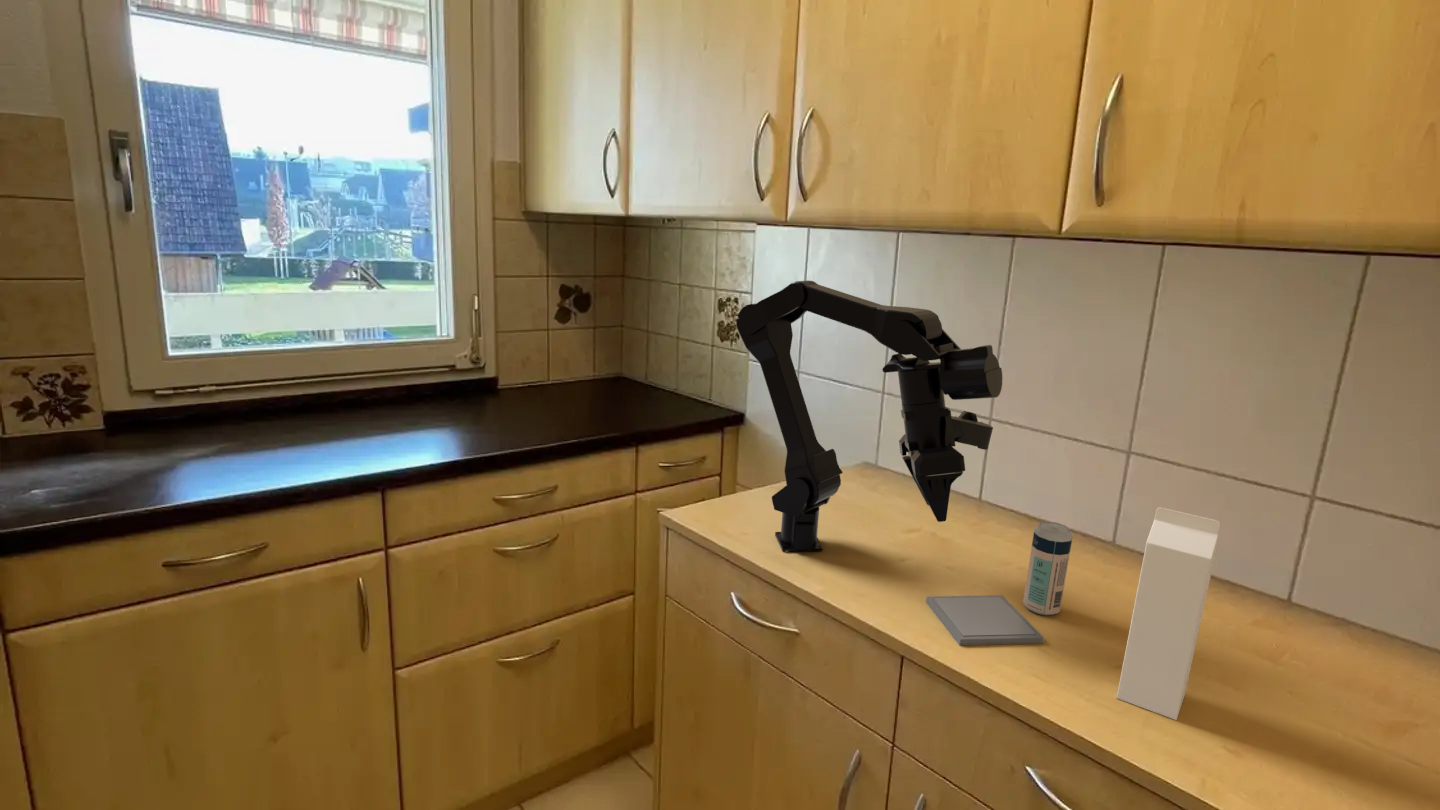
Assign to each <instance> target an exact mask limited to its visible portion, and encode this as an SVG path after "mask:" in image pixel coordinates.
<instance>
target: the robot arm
mask: <svg viewBox="0 0 1440 810" xmlns="http://www.w3.org/2000/svg"><path fill="white" fill-rule="evenodd" d="M807 312H809V313H812V314H815V315H818V316H821V317H824V318H826V319H829V320H832V321H835V322H838V323H840V324H844V325H846V326H849V327H852V328H854V329H858V330H861V331H864V332H866V333H867V334H869V335H871V336H872V338H874V339H875V340H876V341H877V342H878V343H879V344H882V345H883V346H884V347H887V348H888V349H890V350H891V351H893V352H895V354H892V355H891V358H890V359H889V361H887V363H886V364H885V365H884V366H883V368H882V372H883V373H884V374H885V373H895V372H897V376H898V385H899V392H900V400H901V410H900V414H901V418H903V425H904V426H903V427H904V434H903V436H901V438H900V439H899V440H898V443H899V444H898V445H899V452H900V454H901V456H902V460H903V462H904V464H905V465H906V467H907V469H908V471H909V473H910V475H911V477H912V479H913V481H914V483H915V484H916V486H917V488H918V490H919V492H920V494H921V495H922V498H923V500H924V501H925V504H926V505H927V506H929V508H930V510H931V512H932V513H933V515H934V518H935V520H936V521H937V522H938V523H941V522H946V521H947V519H948V518H947V517H948V510H949V509H948V508H949V502H950V501H949V500H950V493H951V489H952V488H951V487H952V484H953V483H954V482H955V481H956V480H957V479H958V478H960V477H961V476H962V475H963V474H964V471H966V464H965V456H964V455H963V454H962V453H961V452H960V451H958V450H957V449H956V448H955V447H956V443H958V444H964V445H968V446H974V447H977V449H980V450H985V451H987V450H989V445H990V441H991V438H992V434H993V429H994V427H993V426H992V425H990V424H988V423H985V422H983V421H979V420H978V416H977V414H976V413H974V412H971V411H966V410H963V411H962V412H960V413H961V414H959V416H956V415H955V416H952V411H951V410H950V409H949V407H947V406H946V402H945V401H946V400H945V396H949V398H950V399H951V400H953V401H958V400H960V401H962V400H974V399H975V400H976V399H977V400H978V399H979V400H980V399H991V398H992V399H995V398H998V397H999V396H1000V394H1001V391H1002V389H1003V370H1002V367H1000V363H999V361H998V358H997V356H996V355H995V354H994V351H993V345H992V344H987V345H986V344H985V345H981V346H976V347H972V348H971V347H970V348H963V349H962V348H961V347H960V346H959V345H958V344H957V343H956V342H955V341H954V340H953V339H952V337H950V335H949V334H948V333H947V332H946V331H945V330H944V329H943V325H942V322H941V320H940V319H939V318H940V317H939V315H938V314H937V313H935V312H934V311H932V310H930V309H926V308H925V309H924V308H917V307H909V306H895V305H893V306H892V305H885V304H880V303H876V302H874V301H871V300H869V299H868V300H867V299H865V298H861V297H859V296H855V295H852V294H849V293H845V292H843V291H840V290H837V289H834V288H830V287H827V286H824V285H821V284H818V283H817V282H816V281H813V280H796V281H793V282H791V283H790V284H788V285H787V286H785V287H784V288H782V289H781V290H779V291H777V292H775V293H773V294H771V295H769V296H766V297H765V298H764V299H761V300H760V301H758V302H756V303H750V304H746V305H744V306H742V308H741V309H740V311H739V312H738V316H737V317H736V320H735V321H736V323H735V325H736V328H737V332H738V334H739V336H740V338H741V341H742V343H743V345H744V346H745V348H746V349H747V351H748V352H749V353H750V354H751V355H752V357H754V358H755V359H756V360H757V362H758V363H759V366H760V368H761V371H762V374H763V378H764V380H765V383H766V386H767V391H768V393H769V397H770V400H771V403H772V406H773V410H774V412H775V416H776V420H777V422H778V426H779V428H780V432H781V435H782V438H783V442H784V445H785V448H786V455H785V456H786V457H785V465H784V477H785V484H786V485H784V487H782V488H781V489H780V490H779V491H777V492H776V493H774V494H773V495H772V496H771V502H772V506H773V510H775V511H777V512H780V513H782V514H781V515H782V517H781V529H780V531H775V533H774V536H775V538H776V541H777V542H778V544H779V547H780V549H781V551H783V552H816V551H817V552H821V551H823V550H824V549H823V548H824V547H823V545H822V543H821V541H820V540H819V538H818V527H819V516H820V515H819V514H820V507H822V506H823V505H827V504H828V503H829V501H830V499H831V497H832V496H834V495H835V494H837V492H838V490H839V489H840V486H842V485H841V483H842V479H841V475H842V474H843V470H842V469H841V468H840V465H839V463H838V459H837V453H836V451H835V449H834V448H831V449H828V450H826V449H825V448H824V447H823V446H822V445H821V444H820V442H819V441H818V439H817V435H816V434H815V429H814V426H813V423H812V420H811V417H810V414H809V411H808V408H807V405H806V400H805V397H804V394H803V390H802V388H801V384H800V382H799V379H798V374H797V372H796V369H795V367H794V366H795V365H794V363H793V362H794V361H793V359H792V355H791V349H792V341H793V336H794V335H793V327H792V324H793V323H795V322H796V321H798V320H799V319H801V318H802V317H803V316H804V315H805V314H806V313H807ZM909 355H912V356H914V357H905V356H909ZM937 360H939V361H940V362H930V361H937Z"/></svg>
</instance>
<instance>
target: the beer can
mask: <svg viewBox="0 0 1440 810" xmlns="http://www.w3.org/2000/svg"><path fill="white" fill-rule="evenodd" d="M1032 536H1033V537H1032V542H1031V550H1030V555H1029V563H1028V568H1027V574H1026V575H1027V576H1026V580H1025V588H1024V594H1023V601H1022V603H1023V605H1024V606H1025V607H1026V608H1027V609H1028V610H1029V611H1031V612H1032V613H1035V614H1037V615H1040V616H1053V615H1056V614H1059V613H1060V612H1061V610H1062V609H1061V608H1062V603H1063V602H1062V601H1063V597H1064V589H1065V584H1066V577H1067V572H1068V566H1069V561H1070V555H1071V550H1072V543H1073V538H1074V537H1073V533H1072V532H1071V529H1070V528H1069V527H1068V526H1067V525H1065V524H1061V523H1059V522H1055V521H1049V520H1048V521H1041V522H1039V523H1038V525H1037V527H1036V528H1034V530H1033V535H1032Z"/></svg>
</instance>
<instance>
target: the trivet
mask: <svg viewBox="0 0 1440 810" xmlns="http://www.w3.org/2000/svg"><path fill="white" fill-rule="evenodd" d="M925 597H926V598H925V603H926V604H927V606H928V607H929V608H930V609H931V611H932V612H933V613H934V614H935V616H936V617H937V618H938V619H939V621H940V622H941V624H942V625H943V626H944V627H945V628H946V630H947V631H948V633H949V634H950V635H951V636H952V638H953V639H954V641H956V643H957V644H958V645H959V646H983V645H984V646H985V645H986V646H987V645H1015V644H1016V645H1020V644H1023V645H1024V644H1044V636H1043V635H1042V634H1041V633H1040V632H1039V631H1038V630H1037V629H1036V628H1035V627H1034V625H1032V624H1031V623H1030V622H1029V621H1028V619H1026V618H1025V617H1024V616H1023V615H1022V614H1021V612H1020V611H1018V610H1017V608H1015V607H1014V606H1013V605H1012V604H1011V603H1010V601H1008V599H1007V598H1005V596H1003V595H1001V594H998V595H997V594H995V595H994V594H993V595H990V594H989V595H942V596H941V595H938V596H937V595H935V596H933V595H931V596H930V595H929V596H925Z"/></svg>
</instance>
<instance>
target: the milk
mask: <svg viewBox="0 0 1440 810" xmlns="http://www.w3.org/2000/svg"><path fill="white" fill-rule="evenodd" d="M1220 530H1221V522H1220V521H1219V520H1217V519H1213V518H1212V519H1211V518H1209V517H1205V516H1200V515H1196V514H1191V513H1187V512H1182V511H1178V510H1175V509H1174V510H1173V509H1169V508H1165V507H1157V508H1156V510H1155V513H1154V518H1153V522H1152V525H1151V528H1150V531H1149V534H1148V537H1147V539H1146V543H1145V548H1144V552H1143V553H1144V554H1143V559H1142V565H1141V567H1140V569H1141V570H1140V573H1139V574H1140V575H1139V579H1138V580H1139V581H1138V583H1137V590H1136V595H1135V600H1134V606H1133V611H1132V615H1131V621H1130V627H1129V631H1128V637H1127V642H1126V648H1125V650H1124V651H1125V652H1124V658H1123V662H1122V667H1121V673H1120V678H1119V683H1118V687H1117V692H1116V698H1117V700H1121V701H1123V702H1125V703H1129V704H1131V705H1134V706H1136V707H1139V708H1142V709H1145V710H1147V711H1150V712H1153V713H1155V714H1158V715H1161V716H1164V717H1166V718H1169V719H1172V720H1174V721H1177V720H1178V717H1179V714H1180V711H1181V709H1182V704H1183V702H1184V698H1185V696H1186V692H1187V688H1188V683H1189V677H1190V672H1191V668H1192V665H1193V659H1194V656H1195V655H1194V653H1195V650H1196V645H1197V641H1198V636H1199V630H1200V627H1201V623H1202V622H1201V621H1202V617H1203V614H1204V613H1203V612H1204V608H1205V604H1206V600H1207V595H1208V594H1207V593H1208V591H1209V585H1210V581H1211V577H1212V571H1213V569H1214V562H1215V557H1216V555H1217V554H1216V552H1217V549H1218V544H1219V534H1220Z"/></svg>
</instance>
